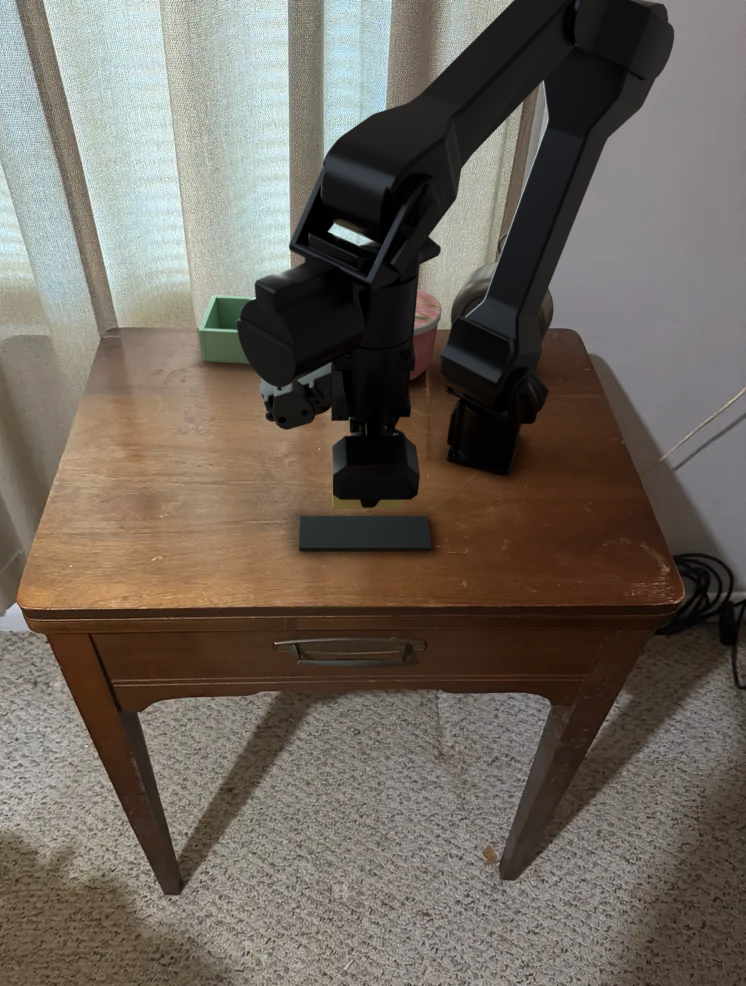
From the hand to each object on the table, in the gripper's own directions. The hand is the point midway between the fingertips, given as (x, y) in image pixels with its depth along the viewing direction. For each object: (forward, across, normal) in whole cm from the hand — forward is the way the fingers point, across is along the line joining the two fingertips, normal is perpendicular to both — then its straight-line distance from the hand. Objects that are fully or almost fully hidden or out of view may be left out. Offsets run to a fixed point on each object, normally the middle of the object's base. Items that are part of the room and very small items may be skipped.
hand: (367, 489), depth 66 cm
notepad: (0, 0, 0) cm, 0 cm away
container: (+6, -28, +4) cm, 29 cm away
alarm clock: (+6, -28, +16) cm, 33 cm away
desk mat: (+6, 0, 0) cm, 6 cm away
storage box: (+6, -32, -12) cm, 34 cm away
